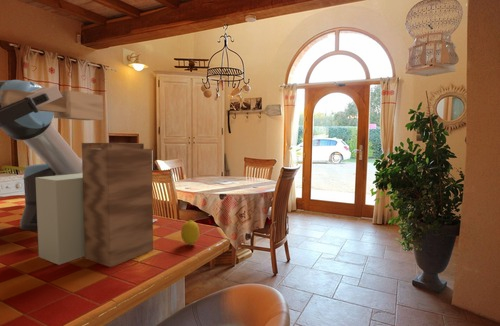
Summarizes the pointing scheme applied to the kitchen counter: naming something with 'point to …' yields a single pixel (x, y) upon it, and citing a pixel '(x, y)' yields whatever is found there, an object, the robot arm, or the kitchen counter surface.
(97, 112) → the mallet
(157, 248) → the kitchen counter surface
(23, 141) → the robot arm
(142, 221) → the walnut stand
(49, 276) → the kitchen counter surface
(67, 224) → the sage block
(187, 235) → the lemon
